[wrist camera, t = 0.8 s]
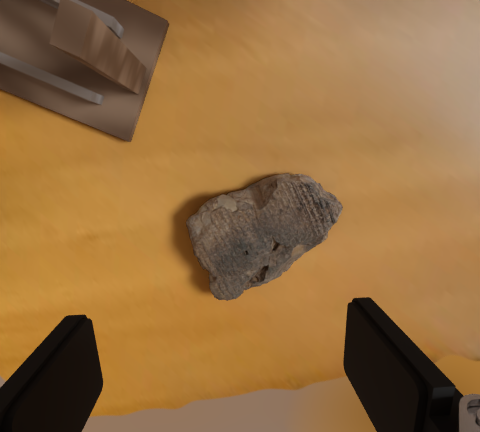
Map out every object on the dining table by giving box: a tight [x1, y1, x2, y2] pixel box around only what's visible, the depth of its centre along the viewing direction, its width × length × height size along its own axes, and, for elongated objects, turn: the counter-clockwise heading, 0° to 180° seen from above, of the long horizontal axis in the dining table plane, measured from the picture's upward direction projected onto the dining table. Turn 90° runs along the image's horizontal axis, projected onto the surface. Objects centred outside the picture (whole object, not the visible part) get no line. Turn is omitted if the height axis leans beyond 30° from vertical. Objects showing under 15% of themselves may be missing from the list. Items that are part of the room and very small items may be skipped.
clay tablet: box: [186, 173, 343, 300], centre depth 36 cm, size 14×5×20 cm
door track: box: [0, 0, 169, 142], centre depth 24 cm, size 14×20×15 cm
